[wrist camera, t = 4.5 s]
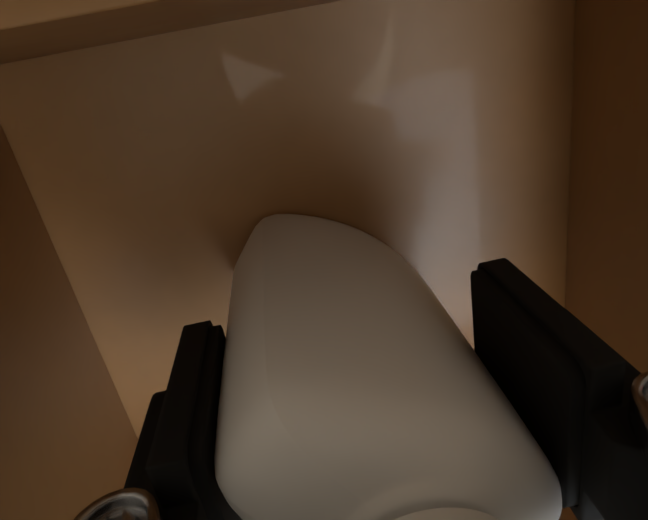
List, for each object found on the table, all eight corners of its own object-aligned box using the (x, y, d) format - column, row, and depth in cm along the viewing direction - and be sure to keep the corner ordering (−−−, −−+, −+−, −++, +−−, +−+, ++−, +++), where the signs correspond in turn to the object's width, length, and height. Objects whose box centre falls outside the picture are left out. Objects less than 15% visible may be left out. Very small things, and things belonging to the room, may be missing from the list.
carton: (-36, 56, 11) (-402, 69, 5) (581, -59, 12) (940, -175, 6) (161, 503, 17) (106, 760, 11) (563, 412, 18) (726, 608, 12)
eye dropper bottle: (322, 381, 16) (471, 1173, 5) (211, 246, 13) (-5, 1157, 2) (442, 309, 15) (930, 1011, 4) (347, 155, 13) (856, 800, 2)
